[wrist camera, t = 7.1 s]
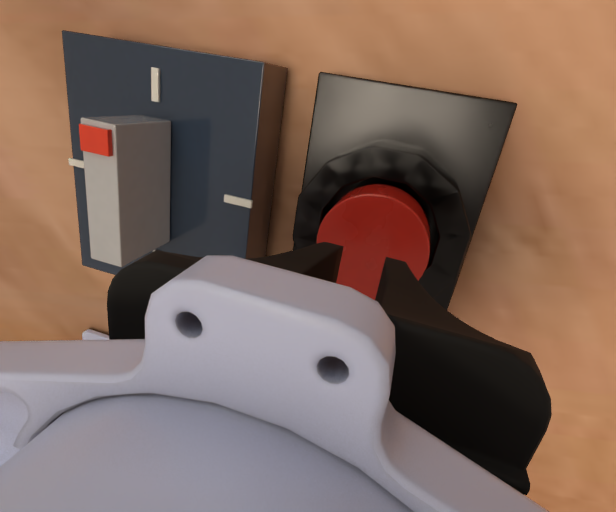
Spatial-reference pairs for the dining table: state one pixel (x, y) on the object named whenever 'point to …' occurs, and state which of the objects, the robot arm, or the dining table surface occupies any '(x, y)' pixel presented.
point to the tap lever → (126, 185)
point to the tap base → (187, 136)
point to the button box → (404, 160)
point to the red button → (376, 234)
